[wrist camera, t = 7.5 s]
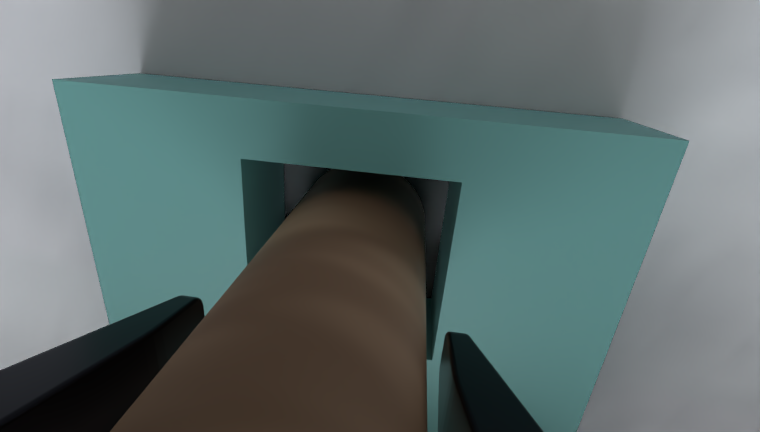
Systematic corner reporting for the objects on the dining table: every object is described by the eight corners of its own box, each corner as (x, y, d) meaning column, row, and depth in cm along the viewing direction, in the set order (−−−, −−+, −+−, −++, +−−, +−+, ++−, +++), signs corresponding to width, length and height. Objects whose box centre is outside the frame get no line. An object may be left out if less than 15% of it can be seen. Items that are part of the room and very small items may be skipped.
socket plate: (622, 118, 11) (1040, 257, 3) (500, 507, 17) (553, 838, 10) (139, 73, 12) (-338, 106, 4) (197, 457, 18) (45, 726, 11)
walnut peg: (432, 167, 12) (461, 522, 3) (417, 277, 14) (405, 733, 5) (306, 154, 12) (-28, 443, 3) (305, 263, 14) (80, 669, 5)
